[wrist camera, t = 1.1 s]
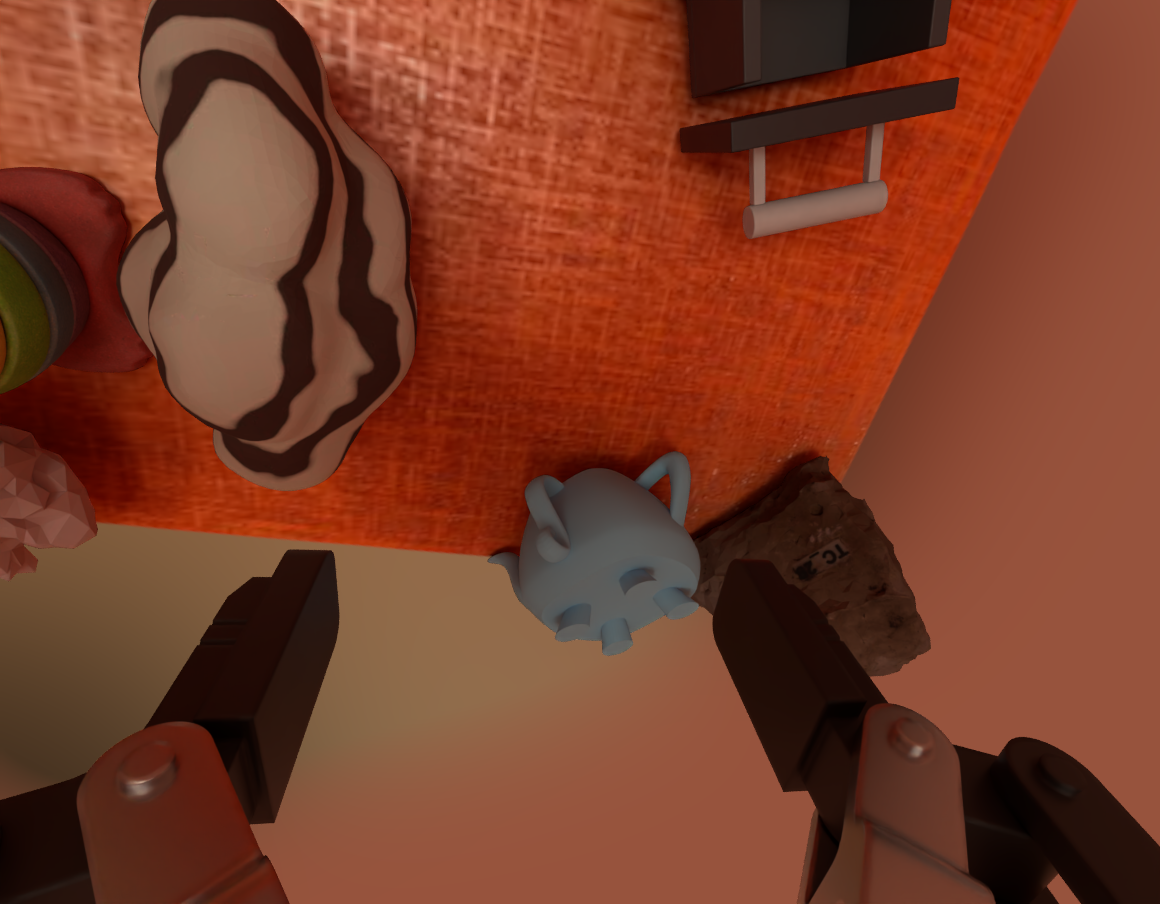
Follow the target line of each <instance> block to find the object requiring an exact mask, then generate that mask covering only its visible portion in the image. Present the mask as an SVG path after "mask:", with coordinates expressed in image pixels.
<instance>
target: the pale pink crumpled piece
mask: <svg viewBox="0 0 1160 904" xmlns="http://www.w3.org/2000/svg"><path fill="white" fill-rule="evenodd" d="M97 530H98V528H97V525H96V521H95V509H94V507H93V505H92V503H91V502H90V500H89V496H88V493H87V490H86V488H85V487H84V485H83V484H82V483H81V482H80V480H79V479H78V478H77V476H76V475H75V474H74V472H73V471H72V470H71V468H70V467H69V466H68V465H67V463H66V462H65V461H64V459H63V458H62V457H61V455H59V454H57V453H54V452H51V451H48V450H46V449H43V448H40V447H39V445H38V443H37V441H36V440H35V438H34V436H33V435H32V433H30V432H26V431H23V430H20V429H17V428H13V427H10V426H7V425H4V424H0V578H2V579H4V580H7V581H10V580H11V579H12V578H13V576H14V575H15V574H16V573H30V572H35V571H36V567H37V562H38V560H37V559H36V557H35V556H33V555H32V554H31V552H29V551H28V550H27V549H26V548H25V547H24V544H25V545H28V546H32V547H35V548H40V549H42V548H52V547H59V548H72V549H74V548H75V547H77V546H79V545H81V544H83V543H84V542H86V541H88V540H89V539H91V538H93V537H95V536H96V534H97Z"/></svg>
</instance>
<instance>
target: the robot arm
mask: <svg viewBox="0 0 1160 904" xmlns="http://www.w3.org/2000/svg"><path fill="white" fill-rule="evenodd" d="M338 628H339V604H338V591H337V579H336V568H335V558H334V554H333V552H332V551H331V550H329V551H328V550H288V551H287V552H286V553H285V554H284V556H283V558H282V560H281V561H280V563H279V565H278V566H277V568H276V570H275V572H274V574H273V575H272V577H252V578H251V579H250V580H248V581H247V582H246V583H245V584H243V585H242V586H241V587H240V588H238V589H237V590H236V591H235V592H233V593H232V594H231V595H229V596H228V597H227V599H226V600H225V602H224V603H223V605H222V607H221V608H220V610H219V611H218V613H217V615H216V616H215V618H214V619H213V624H212V625H210V626H209V627H208V629H207V630H206V632H205V634H204V635H203V637H202V638H201V640H200V641H201V642H200V645H197V647H196V648H195V649H194V651H193V653H192V654H191V656H190V657H189V659H188V661H187V662H186V664H185V665H184V667H183V669H182V670H181V672H180V673H179V675H178V676H177V678H176V680H175V681H174V683H173V684H172V686H171V687H170V689H169V691H168V692H167V694H166V696H165V697H164V699H163V700H162V702H161V703H160V705H159V707H158V708H157V710H156V711H155V713H154V714H153V716H152V718H151V719H150V721H149V722H148V724H147V725H146V727H145V728H144V729H143V730H141V731H138V732H136V733H134V734H132V735H130V736H128V737H127V738H125V739H123V740H122V741H120V742H119V743H117V744H116V745H114V746H113V747H112V748H110V749H109V750H108V751H106V752H105V753H104V754H103V755H102V756H101V757H100V758H99V759H98V760H97V761H96V762H95V763H94V764H93V766H92V767H91V768H90V769H89V770H88V772H87V773H85V774H82V775H80V776H77V777H75V778H73V779H70V780H67V781H64V782H61V783H58V784H54V785H51V786H47V787H44V788H40V789H37V790H34V791H31V792H27V793H23V794H20V795H17V796H13V797H9V798H6V799H3V800H0V904H289V901H288V899H287V897H286V894H285V892H284V890H283V887H282V885H281V883H280V881H279V878H278V876H277V874H276V872H275V869H274V867H273V865H272V863H271V861H270V860H269V858H268V857H267V856H266V855H265V856H263V854H262V852H261V850H260V848H259V846H258V844H257V841H256V839H255V837H254V834H253V832H252V830H251V827H250V824H263V823H274V822H275V819H276V816H277V813H278V810H279V808H280V805H281V802H282V799H283V796H284V793H285V790H286V787H287V784H288V781H289V778H290V775H291V772H292V770H293V767H294V764H295V761H296V758H297V755H298V752H299V749H300V746H301V743H302V741H303V738H304V735H305V732H306V729H307V726H308V723H309V720H310V717H311V714H312V711H313V708H314V705H315V702H316V700H317V697H318V694H319V691H320V688H321V685H322V682H323V679H324V676H325V673H326V670H327V667H328V665H329V661H330V659H331V656H332V653H333V650H334V647H335V643H336V640H337V634H338ZM713 634H714V638H715V642H716V644H717V647H718V649H719V651H720V653H721V655H722V657H723V660H724V662H725V664H726V666H727V669H728V671H729V673H730V675H731V677H732V680H733V682H734V684H735V686H736V688H737V691H738V692H739V695H740V697H741V699H742V702H743V704H744V706H745V708H746V710H747V713H748V715H749V717H750V719H751V721H752V724H753V726H754V728H755V730H756V732H757V735H758V737H759V739H760V741H761V743H762V746H763V748H764V750H765V752H766V754H767V757H768V759H769V761H770V763H771V765H772V767H773V770H774V772H775V774H776V776H777V778H778V781H779V783H780V785H781V787H782V790H783V792H789V791H790V792H791V791H808V792H809V794H810V796H811V798H812V800H813V802H814V804H815V806H816V809H815V811H814V813H813V816H812V820H811V827H810V832H809V838H808V844H807V849H806V856H805V860H804V866H803V872H802V877H801V883H800V890H799V895H798V900H797V904H1059V903H1058V902H1057V900H1056V899H1055V897H1054V896H1053V895H1052V894H1051V892H1050V891H1049V889H1048V888H1047V885H1048V884H1049V883H1050V882H1051V881H1052V880H1053V879H1054V877H1055V876H1056V875H1057V874H1058V873H1059V875H1060V876H1061V877H1062V879H1063V880H1064V881H1065V883H1066V884H1067V885H1068V887H1069V888H1070V889H1071V891H1072V892H1073V893H1074V895H1075V896H1076V898H1077V899H1078V900H1079V901H1080V903H1081V904H1160V846H1159V845H1158V844H1157V843H1156V842H1155V841H1154V840H1153V839H1152V837H1151V836H1150V835H1149V834H1148V833H1147V832H1146V831H1145V830H1144V829H1143V828H1142V827H1141V826H1140V824H1139V823H1138V822H1137V821H1136V820H1135V819H1134V818H1133V817H1132V816H1131V815H1130V814H1129V813H1128V812H1127V810H1126V809H1125V808H1124V807H1123V806H1122V805H1121V804H1120V803H1119V802H1118V801H1117V800H1116V799H1115V797H1114V796H1113V795H1112V794H1111V793H1110V792H1109V791H1108V790H1107V789H1106V788H1105V787H1104V786H1103V785H1102V783H1101V782H1100V781H1099V780H1098V779H1097V778H1096V777H1095V776H1094V775H1093V774H1092V773H1091V772H1090V771H1089V770H1088V769H1087V768H1086V767H1084V766H1083V765H1082V764H1081V763H1079V762H1078V761H1077V760H1075V759H1074V758H1073V757H1071V756H1070V755H1068V754H1066V753H1065V752H1063V751H1062V750H1060V749H1058V748H1056V747H1054V746H1052V745H1050V744H1048V743H1046V742H1043V741H1040V740H1037V739H1033V738H1027V737H1018V738H1014V739H1011V740H1010V741H1009V742H1008V743H1007V745H1006V746H1005V747H1004V749H1003V750H1002V752H1001V753H1000V754H999V756H995V755H991V754H987V753H983V752H980V751H976V750H972V749H968V748H964V747H961V746H957V745H953V744H952V743H951V742H950V741H949V739H948V738H947V737H946V736H945V734H944V733H943V732H942V731H941V730H940V729H939V728H938V727H936V726H935V725H934V724H933V723H932V722H930V721H929V720H928V719H926V718H925V717H923V716H922V715H920V714H918V713H917V712H915V711H913V710H911V709H908V708H906V707H903V706H900V705H896V704H890V703H888V702H887V701H886V700H885V698H884V697H883V695H882V694H881V692H880V691H879V690H878V688H877V687H876V686H875V684H874V683H873V681H872V680H871V679H870V677H869V676H868V674H867V673H866V672H865V670H864V669H863V668H862V666H861V665H860V663H859V662H858V661H857V659H856V658H855V657H854V655H853V654H852V652H851V651H850V650H849V648H848V647H847V646H846V644H845V643H844V641H841V640H840V636H839V634H838V633H837V632H836V630H835V629H834V628H833V626H832V625H829V623H828V619H827V618H826V617H825V615H824V614H823V612H822V611H821V610H820V608H819V607H818V606H817V604H816V603H815V601H813V600H812V599H811V598H810V597H808V596H807V595H806V594H805V593H804V592H802V591H801V590H800V589H799V588H797V587H796V586H795V585H794V584H787V583H786V581H785V580H784V579H783V577H782V576H781V574H780V573H779V571H778V570H777V568H776V567H775V565H774V564H773V563H772V562H771V561H769V560H755V559H734V560H732V561H731V562H730V564H729V566H728V569H727V572H726V575H725V578H724V581H723V585H722V588H721V591H720V594H719V597H718V601H717V604H716V607H715V610H714V614H713Z"/></svg>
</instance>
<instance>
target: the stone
mask: <svg viewBox="0 0 1160 904" xmlns="http://www.w3.org/2000/svg"><path fill="white" fill-rule="evenodd" d="M828 461H829V458H827V456H826V457H822V456H819V457H817V458H815V459H813V460H811V461H808V462H806V463H803V464H800V465H798V466H796V467H795V468H794V469H792V470H791V471H790V472H789V473H788V474H787V475H786V476H785V479H784V481H783V484H782V485H781V486H780V487H779V488H778V489H777V490H775V491H773V492H772V493H770V494H769V495H767V496H766V497H764V498H763V499H762V500H761V501H760V502H758V503H757V504H756V505H753V506H751V507H749V508H748V509H746V510H745V511H744V512H742V513H741V514H739V515H737V516H735V517H734V518H732V519H730V520H728V521H726V522H725V523H724V524H722V525H720V526H718V527H715V528H713V529H711V530H710V531H709V532H708V533H707V534H705V535H703V536H701V537H699V538H697V539H695V540H693V542H694V544H695V546H696V548H697V550H698V554H699V558H700V576H699V581H698V585H697V589H696V591H695V593H694V594H693V595H692V597H690V598H691V599H692V600H694V601H695V602H697V603H698V604H699V606H701V607H704V608H705V609H707V610H708V611H709V612H710V613H711V614H712V615H713V614H714V610H715V607H716V604H717V601H718V597H719V594H720V591H721V588H722V585H723V581H724V578H725V575H726V572H727V569H728V566H729V564H730V562H731V561H732V560H734V559H755V560H769V561H771V562H772V563H773V564H774V565H775V567H776V568H777V570H778V571H779V573H780V574H781V576H782V577H783V579H784V580H785V581H786V583H787V584H794V585H795V586H796V587H797V588H799V589H800V590H801V591H802V592H804V593H805V594H806V595H807V596H808V597H810V598H811V599H812V600H813V601H815V603H816V604H817V606H818V607H819V608H820V610H821V611H822V612H823V614H824V615H825V617H826V618H827V619H828V623H829V625H832V626H833V628H834V629H835V630H836V632H837V633H838V634H839V636H840V640H841V641H844V643H845V644H846V646H847V647H848V648H849V650H850V651H851V652H852V654H853V655H854V657H855V658H856V659H857V661H858V662H859V663H860V665H861V666H862V668H863V669H864V670H865V672H866V673H867V674H868V676H869V677H870V676H884V675H888V674H891V673H895V672H898V671H900V669H901V668H902V666H903V664H908V663H909V662H910V661H911V660H913V659H915V658H916V657H917V655H921V654H923V653H925V652H927V651H928V650H930V649H931V645H930V637H929V635H928V633H927V632H926V629H925V625H924V623H923V621H922V619H921V617H920V615H919V614H918V612H917V611H916V603H915V597H914V595H913V592H912V590H911V589H910V587H909V586H908V584H907V582H906V581H905V579H904V577H903V574H902V569H901V566H900V563H899V562H898V560H897V558H896V556H895V554H894V547H893V544H892V543H891V542H890V541H889V540H888V539H887V537H886V536H885V535H884V533H883V532H882V531H881V529H880V528H879V526H878V525H877V524H876V522H875V519H874V516H873V513H872V511H871V510H870V508H869V507H868V505H867V503H866V501H865V499H863V500H861V499H857V498H854V497H852V496H851V495H850V494H849V493H848V492H847V491H846V490H844V489H843V488H842V485H841V484H840V483H839V482H838V481H837V480H836V479H835V477H834V476H833V475H832V474H831V473H830V472H829V466H828Z"/></svg>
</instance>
